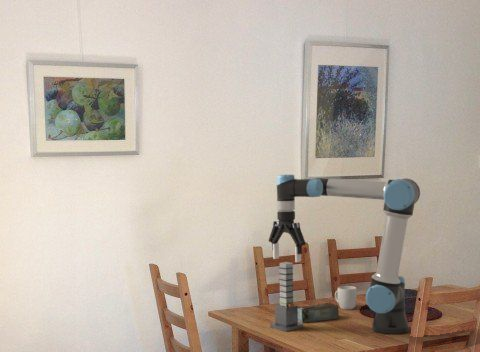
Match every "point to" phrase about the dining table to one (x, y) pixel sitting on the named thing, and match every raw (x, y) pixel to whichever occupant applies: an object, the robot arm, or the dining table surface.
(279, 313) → the stand
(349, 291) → the mug
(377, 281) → the robot arm
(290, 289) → the column
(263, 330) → the dining table surface
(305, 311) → the beverage carton
